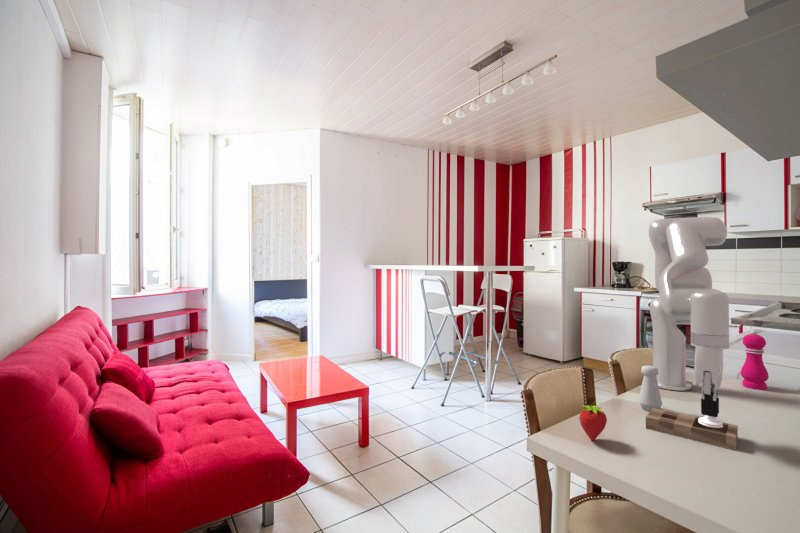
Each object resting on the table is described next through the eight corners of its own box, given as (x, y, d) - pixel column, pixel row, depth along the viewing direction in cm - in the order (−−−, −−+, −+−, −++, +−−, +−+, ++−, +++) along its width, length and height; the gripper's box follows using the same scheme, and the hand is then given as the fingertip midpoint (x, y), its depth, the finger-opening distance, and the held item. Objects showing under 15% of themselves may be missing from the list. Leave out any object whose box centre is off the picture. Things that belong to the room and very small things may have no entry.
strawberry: (611, 439, 96) (611, 399, 96) (599, 449, 91) (599, 407, 91) (587, 431, 101) (586, 393, 101) (574, 441, 96) (574, 400, 96)
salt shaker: (655, 406, 118) (654, 363, 118) (666, 413, 112) (665, 369, 112) (635, 405, 118) (634, 363, 118) (645, 413, 113) (644, 368, 112)
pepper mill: (754, 383, 138) (753, 328, 138) (774, 390, 131) (774, 331, 131) (735, 384, 138) (734, 328, 138) (754, 390, 130) (754, 332, 130)
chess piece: (695, 423, 97) (695, 383, 97) (700, 418, 100) (700, 379, 100) (720, 429, 93) (720, 388, 93) (725, 424, 96) (724, 384, 96)
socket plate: (653, 418, 109) (653, 407, 109) (737, 437, 96) (737, 425, 96) (645, 428, 102) (645, 417, 102) (735, 450, 90) (735, 437, 90)
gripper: (695, 334, 105) (695, 402, 105) (686, 343, 93) (686, 419, 93) (731, 337, 100) (732, 408, 100) (726, 347, 88) (727, 428, 88)
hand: (710, 413), depth 96 cm, fingers closed on chess piece
